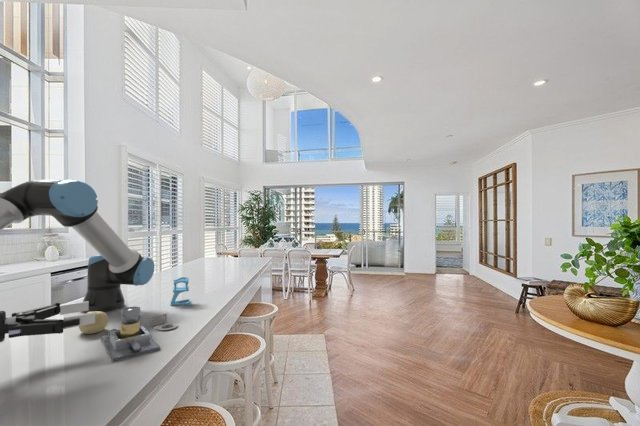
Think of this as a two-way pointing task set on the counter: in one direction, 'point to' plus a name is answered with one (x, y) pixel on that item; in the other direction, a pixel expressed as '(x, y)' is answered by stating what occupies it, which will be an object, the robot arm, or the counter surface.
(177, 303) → the chair
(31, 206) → the robot arm
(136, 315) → the gold and grey cylinder
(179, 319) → the counter surface
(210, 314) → the counter surface
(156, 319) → the bracket
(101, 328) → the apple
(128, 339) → the coupling board
